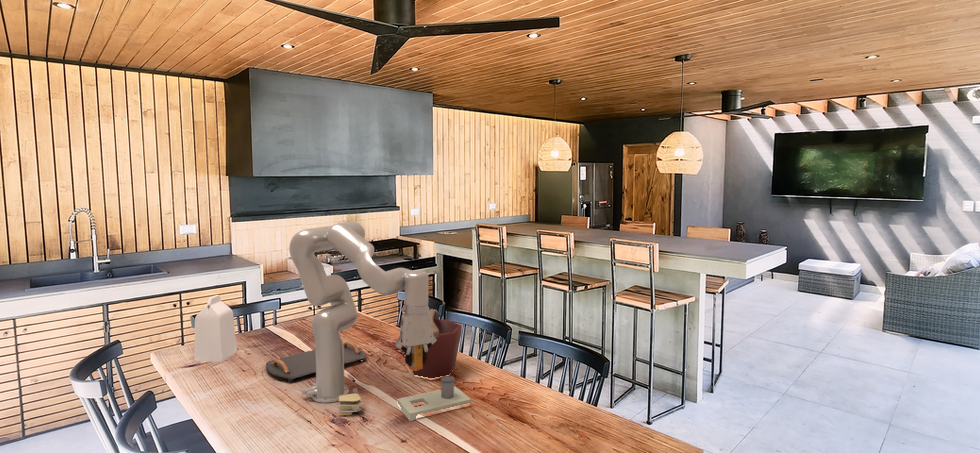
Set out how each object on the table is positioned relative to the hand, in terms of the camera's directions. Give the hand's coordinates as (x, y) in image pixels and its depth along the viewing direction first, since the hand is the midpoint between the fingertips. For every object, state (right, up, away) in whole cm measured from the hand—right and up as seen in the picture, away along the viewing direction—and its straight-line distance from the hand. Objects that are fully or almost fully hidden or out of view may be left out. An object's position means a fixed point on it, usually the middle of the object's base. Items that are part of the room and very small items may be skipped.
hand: (415, 363), depth 163 cm
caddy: (+5, -16, +7) cm, 19 cm away
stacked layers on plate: (-22, -17, +1) cm, 28 cm away
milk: (-93, -11, +50) cm, 106 cm away
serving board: (-47, -13, +42) cm, 65 cm away
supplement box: (0, -2, 0) cm, 2 cm away
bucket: (+1, -14, +36) cm, 39 cm away
